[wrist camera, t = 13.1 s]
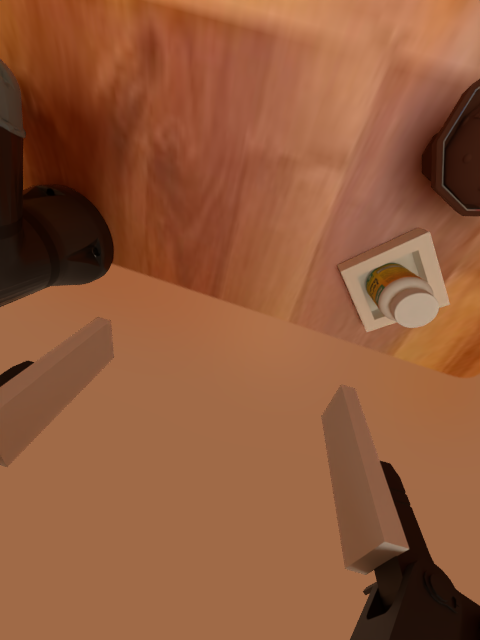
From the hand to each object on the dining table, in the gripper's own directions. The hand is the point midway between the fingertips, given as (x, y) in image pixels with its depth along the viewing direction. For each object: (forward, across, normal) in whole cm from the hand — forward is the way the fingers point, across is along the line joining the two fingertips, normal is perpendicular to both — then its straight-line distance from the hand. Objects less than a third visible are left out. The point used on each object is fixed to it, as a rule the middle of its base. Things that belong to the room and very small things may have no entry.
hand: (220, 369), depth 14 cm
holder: (+24, +18, +1) cm, 30 cm away
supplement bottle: (+24, +18, +1) cm, 30 cm away
